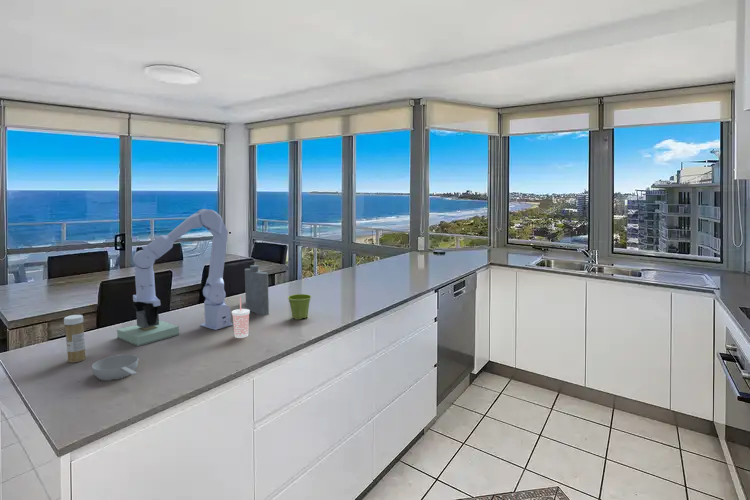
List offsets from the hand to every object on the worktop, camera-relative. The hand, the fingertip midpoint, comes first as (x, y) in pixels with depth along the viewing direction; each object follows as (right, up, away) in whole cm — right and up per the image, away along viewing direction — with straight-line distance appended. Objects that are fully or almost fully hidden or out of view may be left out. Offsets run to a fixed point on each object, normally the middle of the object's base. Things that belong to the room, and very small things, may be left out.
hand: (147, 323), depth 142 cm
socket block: (0, -5, +1) cm, 5 cm away
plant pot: (+49, -2, +24) cm, 54 cm away
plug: (0, -3, 0) cm, 3 cm away
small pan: (+11, -9, -32) cm, 35 cm away
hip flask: (+28, -1, +33) cm, 44 cm away
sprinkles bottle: (-10, -8, -21) cm, 24 cm away
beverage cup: (+32, -5, +2) cm, 33 cm away
